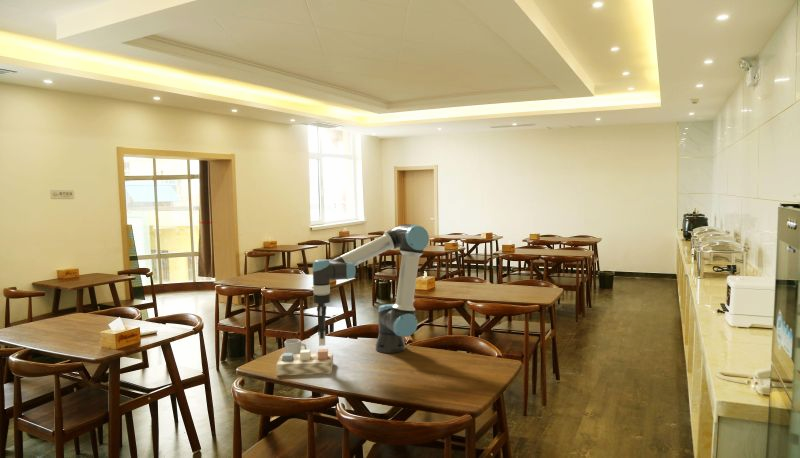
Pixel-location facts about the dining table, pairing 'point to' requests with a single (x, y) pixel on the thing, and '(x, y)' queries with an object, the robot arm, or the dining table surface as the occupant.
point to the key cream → (305, 355)
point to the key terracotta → (322, 354)
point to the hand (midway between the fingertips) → (322, 345)
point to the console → (304, 365)
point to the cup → (293, 346)
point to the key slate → (287, 357)
